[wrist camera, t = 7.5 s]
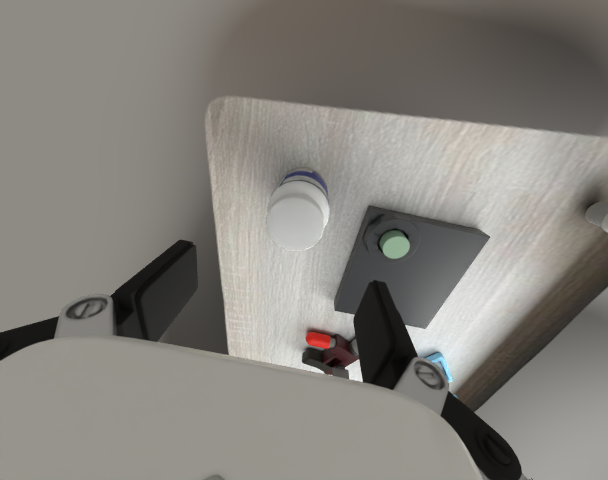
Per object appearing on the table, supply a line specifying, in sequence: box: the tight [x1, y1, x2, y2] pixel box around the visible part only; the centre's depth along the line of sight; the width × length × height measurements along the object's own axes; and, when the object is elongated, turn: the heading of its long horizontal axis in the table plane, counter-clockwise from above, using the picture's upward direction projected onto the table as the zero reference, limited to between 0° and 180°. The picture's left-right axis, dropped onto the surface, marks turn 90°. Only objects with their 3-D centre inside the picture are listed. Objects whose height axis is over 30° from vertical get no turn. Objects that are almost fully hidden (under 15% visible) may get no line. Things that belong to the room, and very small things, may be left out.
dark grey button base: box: [334, 206, 490, 329], centre depth 28 cm, size 16×14×4 cm
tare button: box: [380, 230, 410, 259], centre depth 24 cm, size 3×3×2 cm
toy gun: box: [302, 332, 359, 379], centre depth 36 cm, size 10×12×5 cm
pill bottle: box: [266, 168, 330, 251], centre depth 21 cm, size 6×6×10 cm
